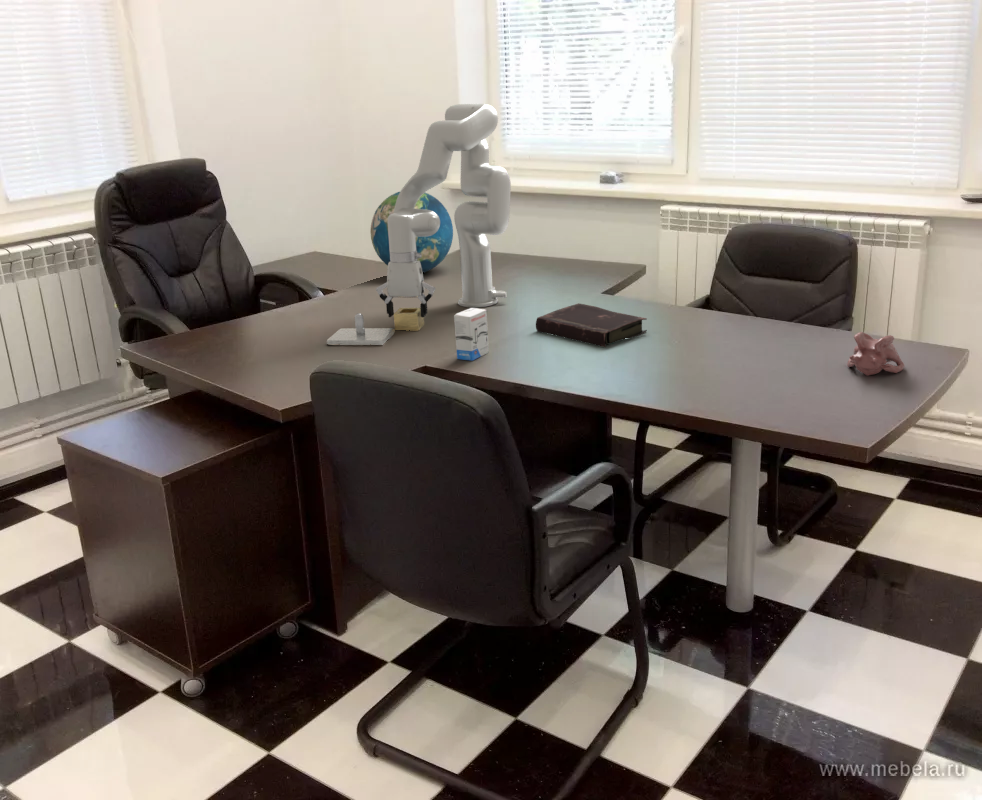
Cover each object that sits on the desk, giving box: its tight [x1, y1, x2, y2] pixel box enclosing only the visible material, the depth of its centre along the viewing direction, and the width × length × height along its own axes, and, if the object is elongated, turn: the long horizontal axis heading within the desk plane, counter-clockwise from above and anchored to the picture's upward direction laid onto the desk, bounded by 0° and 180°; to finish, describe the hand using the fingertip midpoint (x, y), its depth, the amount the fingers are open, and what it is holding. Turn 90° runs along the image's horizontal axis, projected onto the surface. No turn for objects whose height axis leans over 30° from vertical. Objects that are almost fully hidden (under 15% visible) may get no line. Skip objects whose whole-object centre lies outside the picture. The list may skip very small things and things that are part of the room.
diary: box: [535, 302, 648, 348], centre depth 257 cm, size 19×25×5 cm
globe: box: [370, 191, 454, 273], centre depth 337 cm, size 30×30×30 cm
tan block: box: [393, 307, 425, 332], centre depth 271 cm, size 7×7×5 cm
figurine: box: [846, 331, 905, 377], centre depth 213 cm, size 12×10×15 cm
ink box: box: [453, 307, 490, 361], centre depth 240 cm, size 9×5×12 cm, turn 148°
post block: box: [326, 313, 395, 346], centre depth 261 cm, size 16×12×8 cm
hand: (407, 316), depth 270 cm, fingers open, 9 cm apart
